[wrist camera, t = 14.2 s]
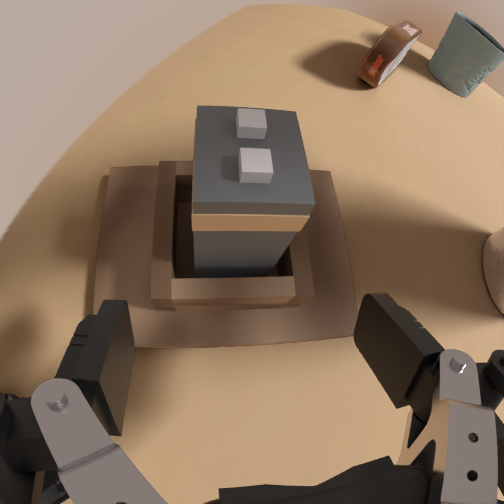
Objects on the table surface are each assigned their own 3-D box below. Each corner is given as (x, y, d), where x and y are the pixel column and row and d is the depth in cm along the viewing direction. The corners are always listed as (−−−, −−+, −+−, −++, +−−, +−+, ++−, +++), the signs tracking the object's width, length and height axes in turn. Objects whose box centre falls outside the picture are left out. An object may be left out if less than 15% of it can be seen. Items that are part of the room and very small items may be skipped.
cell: (258, 213, 20) (300, 100, 11) (264, 282, 18) (323, 196, 10) (194, 213, 19) (196, 93, 11) (194, 284, 18) (191, 192, 9)
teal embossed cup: (417, 53, 39) (447, 3, 28) (460, 76, 40) (490, 33, 29) (435, 86, 35) (474, 30, 24) (480, 111, 36) (518, 64, 25)
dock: (325, 178, 23) (345, 146, 20) (353, 335, 19) (386, 325, 15) (113, 175, 21) (101, 139, 17) (97, 346, 16) (72, 338, 13)
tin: (385, 54, 35) (408, 12, 28) (403, 66, 35) (428, 25, 27) (347, 85, 29) (376, 26, 22) (371, 101, 29) (404, 43, 21)
